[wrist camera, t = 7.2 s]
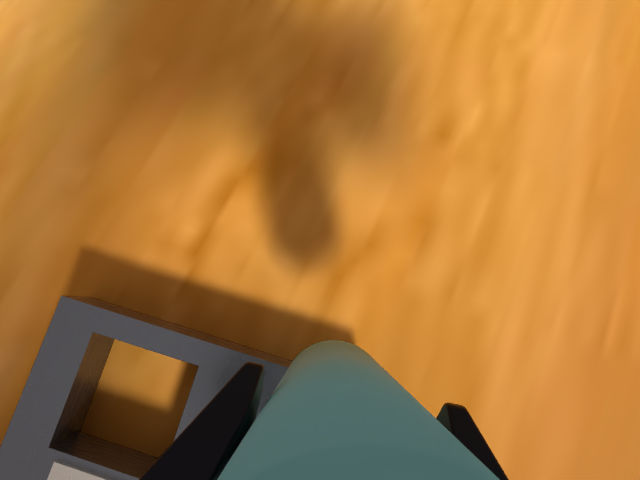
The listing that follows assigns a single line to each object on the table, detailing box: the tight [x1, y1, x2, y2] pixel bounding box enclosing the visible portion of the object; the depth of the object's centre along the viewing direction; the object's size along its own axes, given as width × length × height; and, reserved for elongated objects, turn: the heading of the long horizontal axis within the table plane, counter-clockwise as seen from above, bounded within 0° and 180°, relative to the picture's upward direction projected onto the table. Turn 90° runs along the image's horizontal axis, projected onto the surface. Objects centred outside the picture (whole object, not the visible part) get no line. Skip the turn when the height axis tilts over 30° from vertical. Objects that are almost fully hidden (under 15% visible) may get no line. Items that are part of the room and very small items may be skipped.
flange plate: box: [0, 296, 293, 480], centre depth 20 cm, size 10×16×3 cm, turn 73°
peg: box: [217, 340, 500, 480], centre depth 9 cm, size 4×4×13 cm
